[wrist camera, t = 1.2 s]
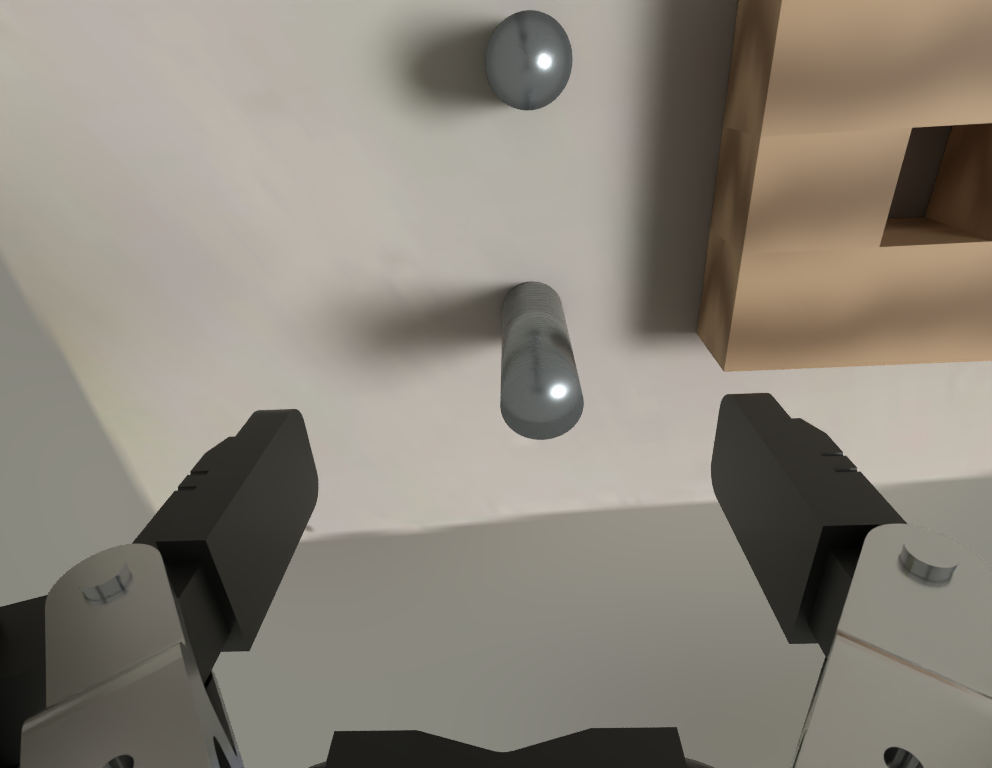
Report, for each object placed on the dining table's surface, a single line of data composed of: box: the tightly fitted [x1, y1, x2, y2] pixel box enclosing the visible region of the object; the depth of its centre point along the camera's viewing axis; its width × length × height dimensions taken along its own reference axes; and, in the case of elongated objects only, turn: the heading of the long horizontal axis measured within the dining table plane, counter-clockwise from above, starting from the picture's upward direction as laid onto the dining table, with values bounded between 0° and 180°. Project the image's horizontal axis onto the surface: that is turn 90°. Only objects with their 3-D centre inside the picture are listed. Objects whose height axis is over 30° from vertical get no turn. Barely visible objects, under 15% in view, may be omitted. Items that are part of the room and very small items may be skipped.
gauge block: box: [697, 0, 992, 372], centre depth 28 cm, size 18×18×5 cm
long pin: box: [500, 282, 584, 440], centre depth 29 cm, size 4×4×11 cm
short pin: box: [485, 10, 572, 110], centre depth 26 cm, size 4×4×5 cm
